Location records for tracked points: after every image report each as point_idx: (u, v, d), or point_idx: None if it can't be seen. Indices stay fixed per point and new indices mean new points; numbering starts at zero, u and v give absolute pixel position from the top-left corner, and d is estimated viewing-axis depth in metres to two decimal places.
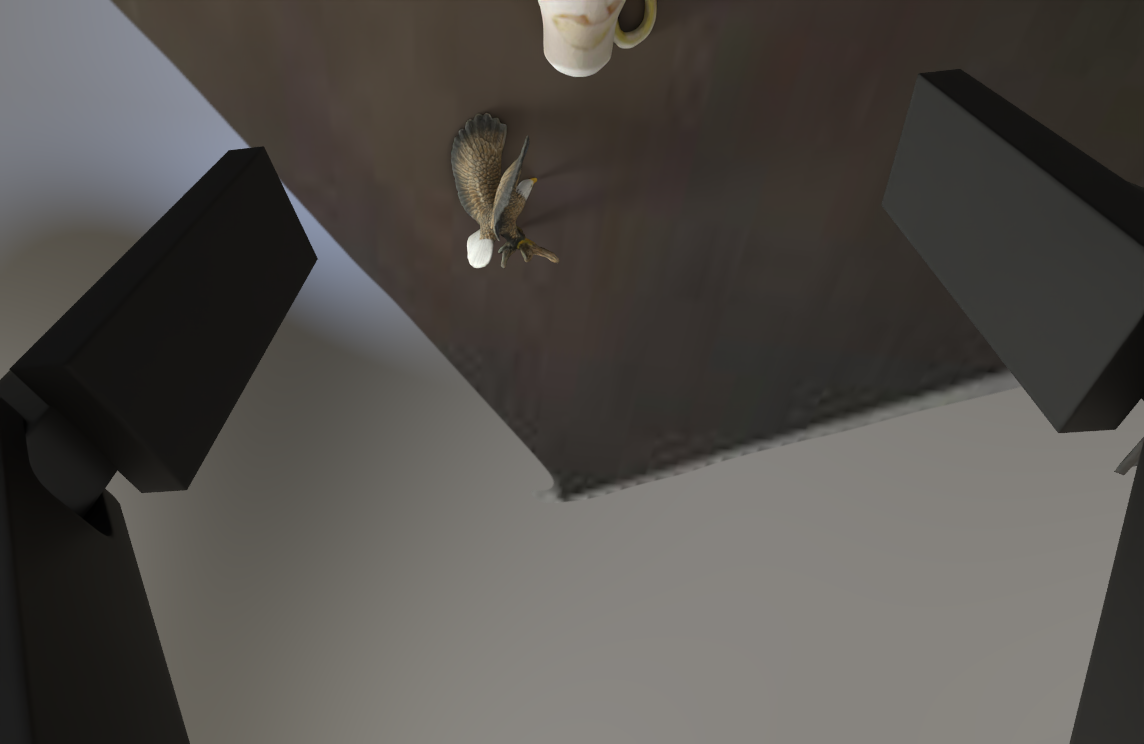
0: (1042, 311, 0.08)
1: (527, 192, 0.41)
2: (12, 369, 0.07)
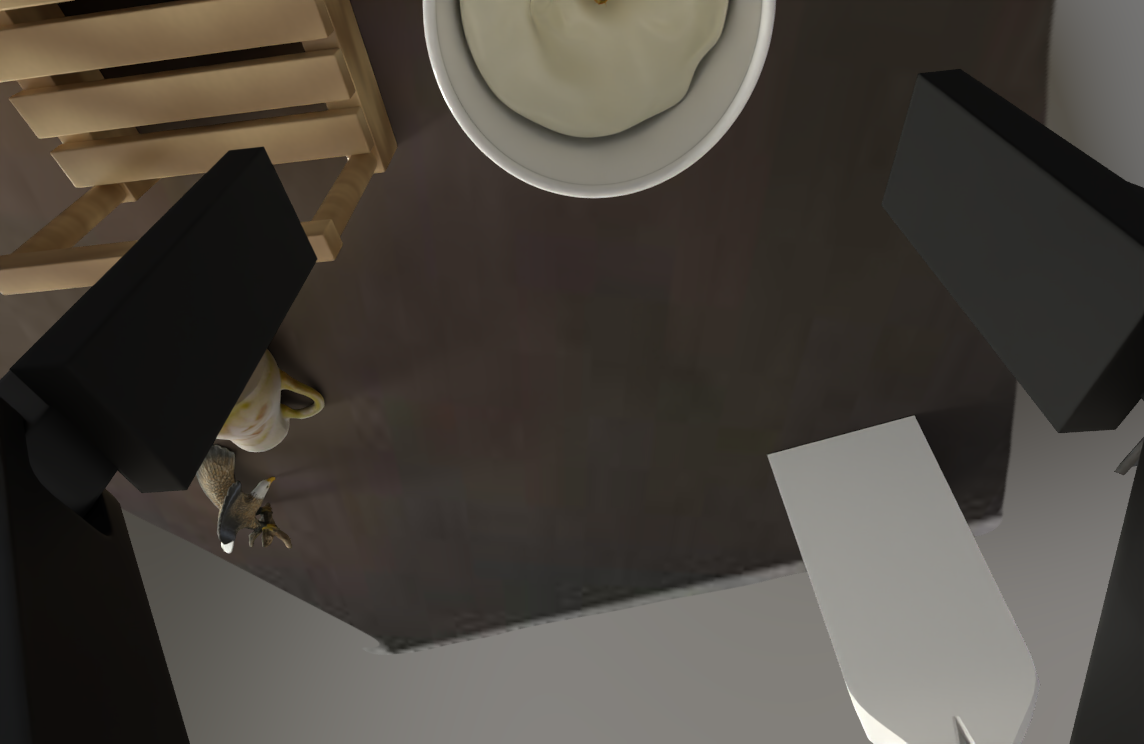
0: (1042, 311, 0.08)
1: (262, 494, 0.50)
2: (12, 369, 0.07)
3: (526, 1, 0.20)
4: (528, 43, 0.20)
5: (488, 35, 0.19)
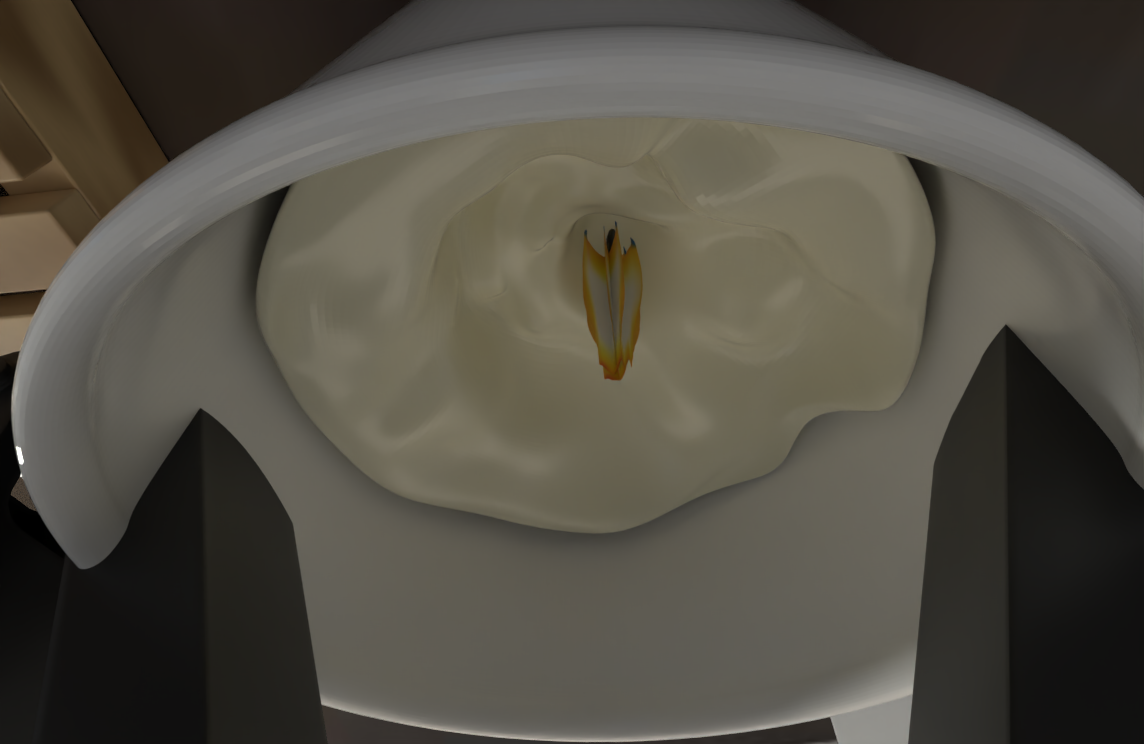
0: None
1: None
2: None
3: (445, 320, 0.09)
4: (450, 401, 0.09)
5: (355, 406, 0.09)
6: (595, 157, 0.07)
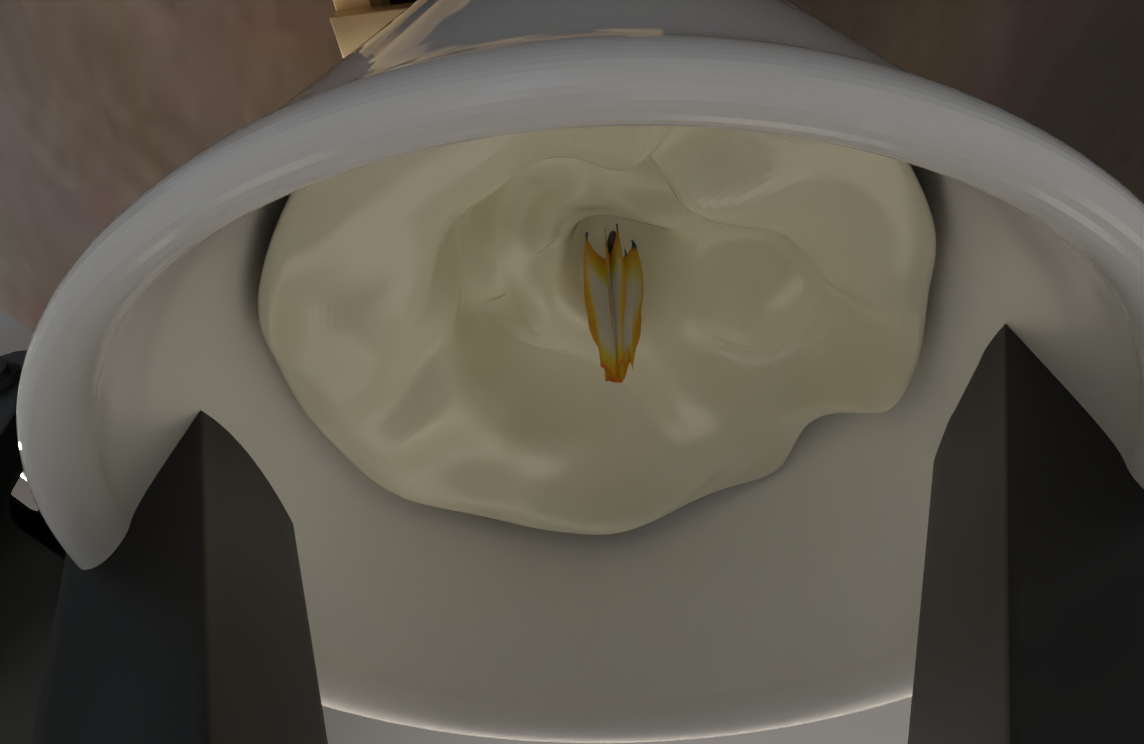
0: None
1: None
2: None
3: (446, 322, 0.09)
4: (451, 402, 0.09)
5: (357, 408, 0.09)
6: (596, 160, 0.07)
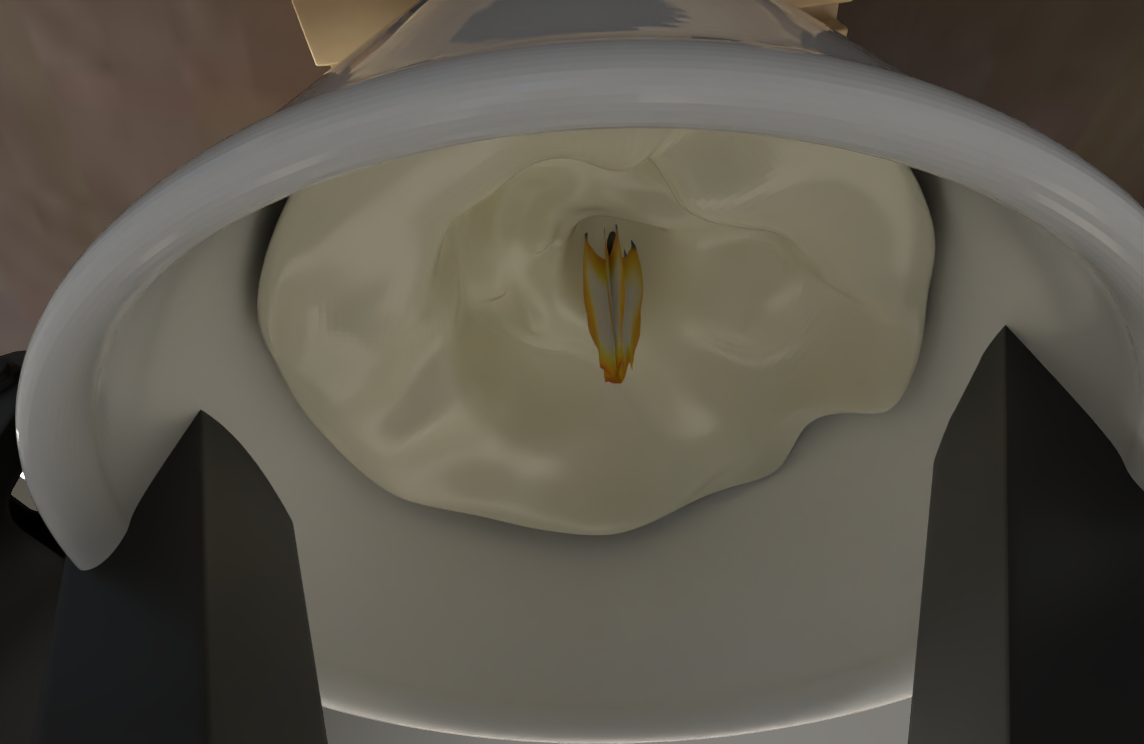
0: None
1: None
2: None
3: (446, 322, 0.09)
4: (450, 403, 0.09)
5: (356, 408, 0.09)
6: (596, 161, 0.07)
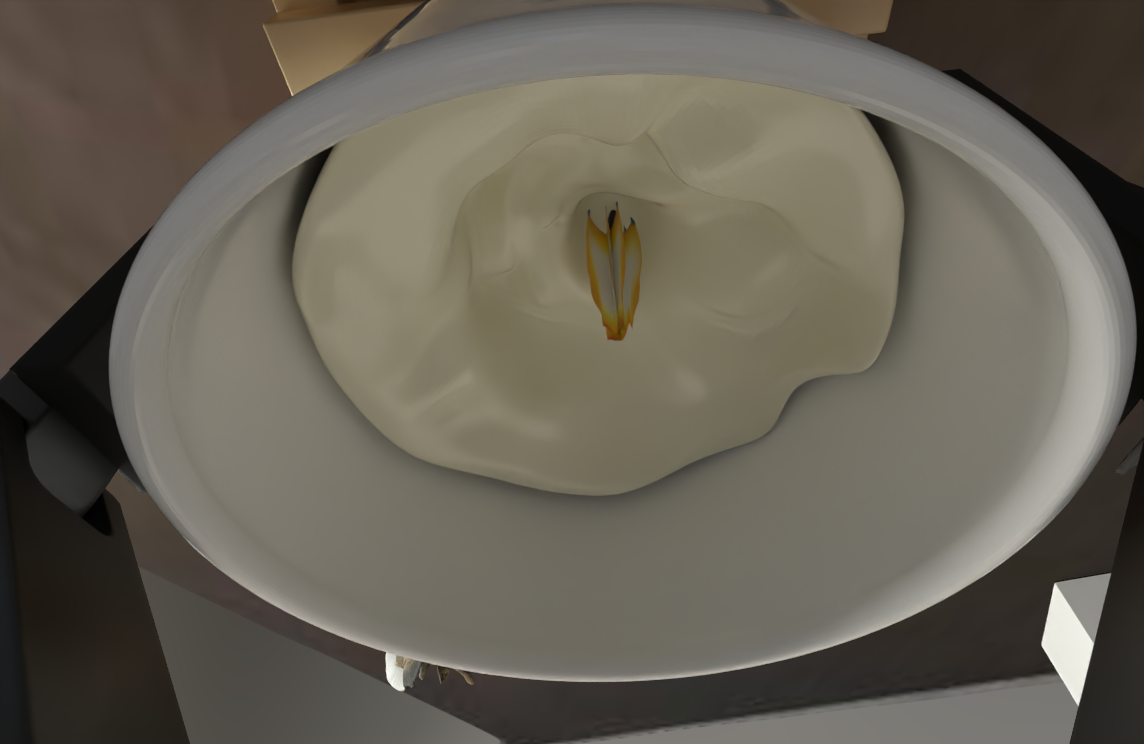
0: None
1: None
2: (12, 369, 0.07)
3: (460, 290, 0.10)
4: (464, 366, 0.10)
5: (378, 369, 0.09)
6: (599, 135, 0.07)
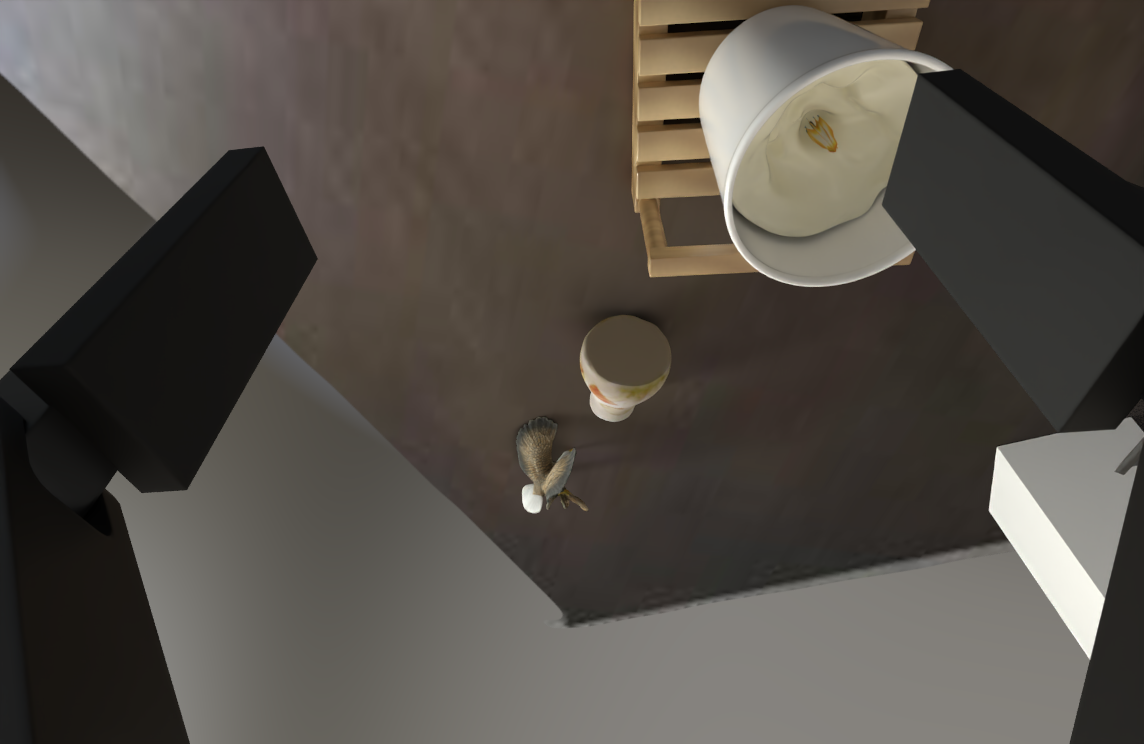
0: (1042, 311, 0.08)
1: None
2: (12, 369, 0.07)
3: (767, 141, 0.27)
4: (764, 170, 0.27)
5: (741, 165, 0.26)
6: (838, 83, 0.25)
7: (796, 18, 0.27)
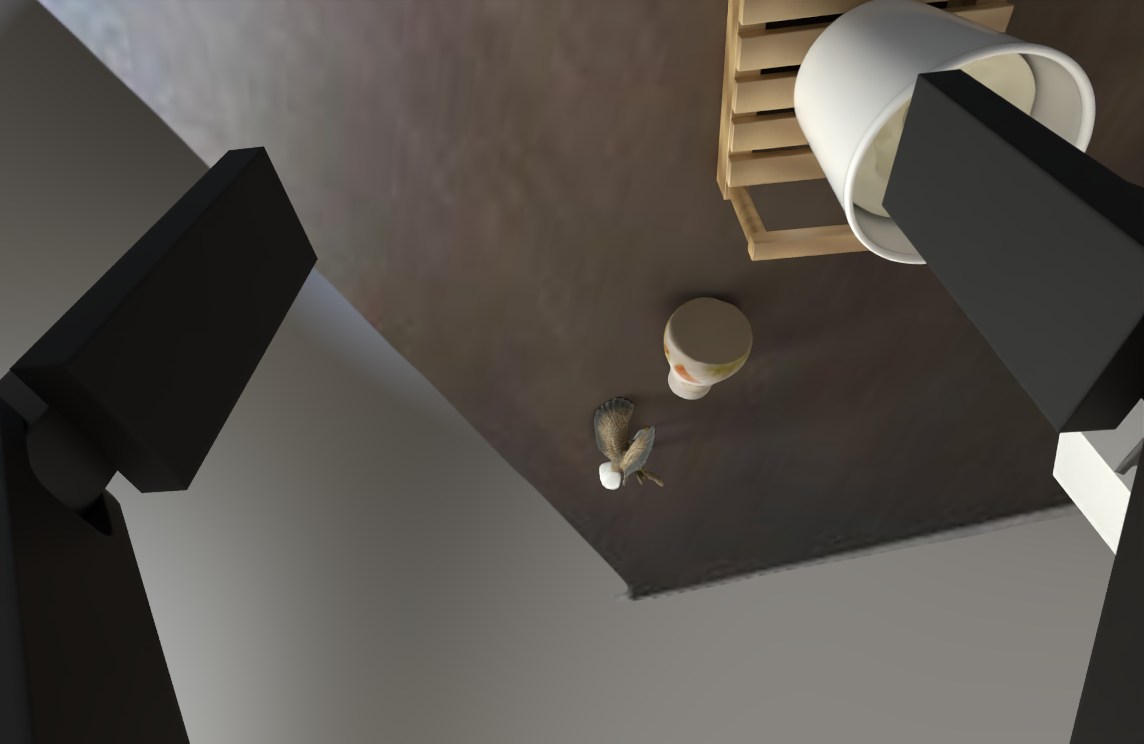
0: (1042, 311, 0.08)
1: None
2: (12, 369, 0.07)
3: None
4: (873, 157, 0.29)
5: None
6: None
7: (901, 12, 0.28)
